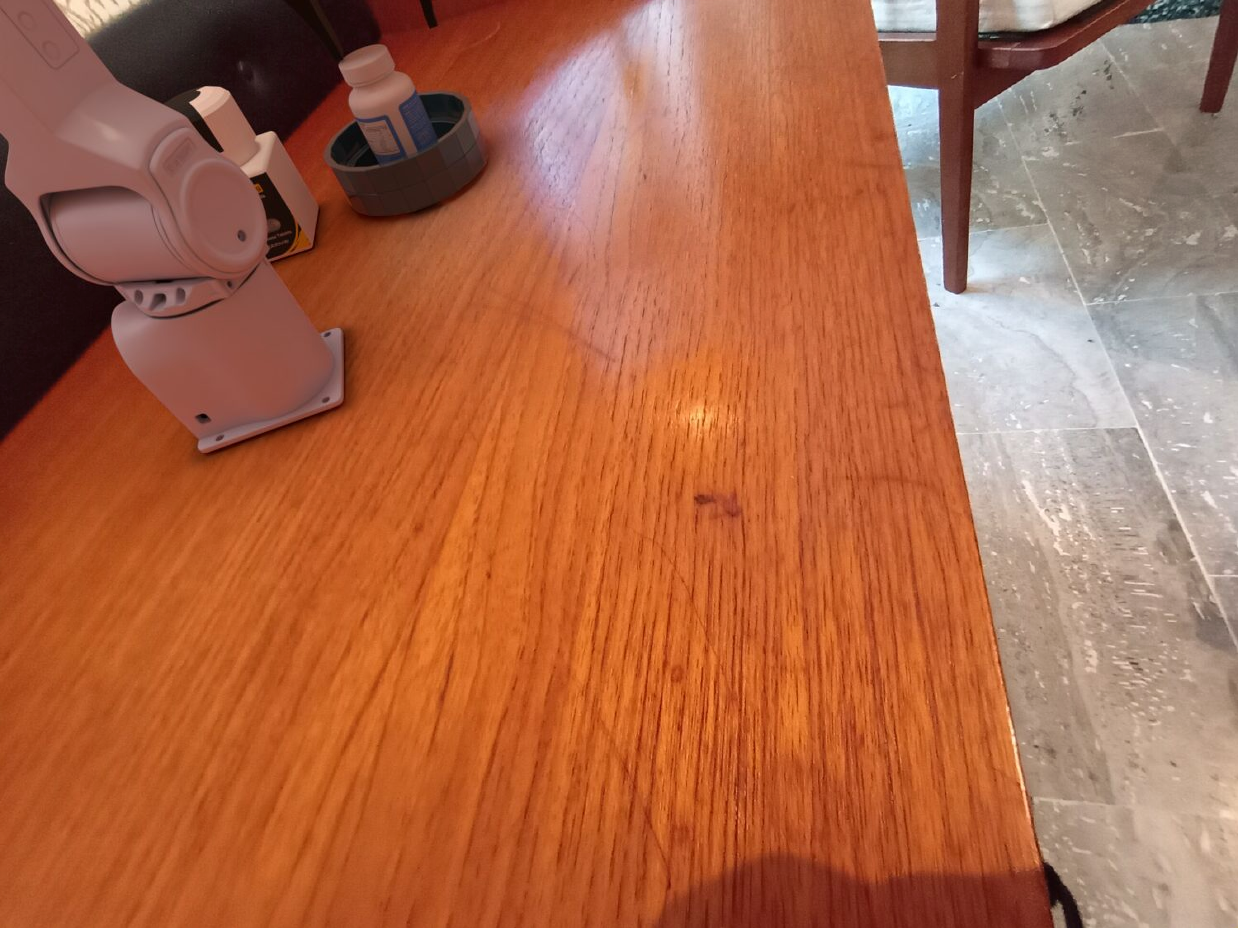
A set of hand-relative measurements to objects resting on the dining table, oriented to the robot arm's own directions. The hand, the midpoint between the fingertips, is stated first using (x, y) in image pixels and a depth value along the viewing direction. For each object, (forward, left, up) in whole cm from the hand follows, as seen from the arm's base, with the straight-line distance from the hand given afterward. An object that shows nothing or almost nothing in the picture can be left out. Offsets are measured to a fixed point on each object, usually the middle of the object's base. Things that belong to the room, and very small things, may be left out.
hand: (386, 40), depth 57 cm
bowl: (-2, -1, -10) cm, 11 cm away
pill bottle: (-2, -1, -10) cm, 10 cm away
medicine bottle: (-15, -3, -11) cm, 19 cm away
